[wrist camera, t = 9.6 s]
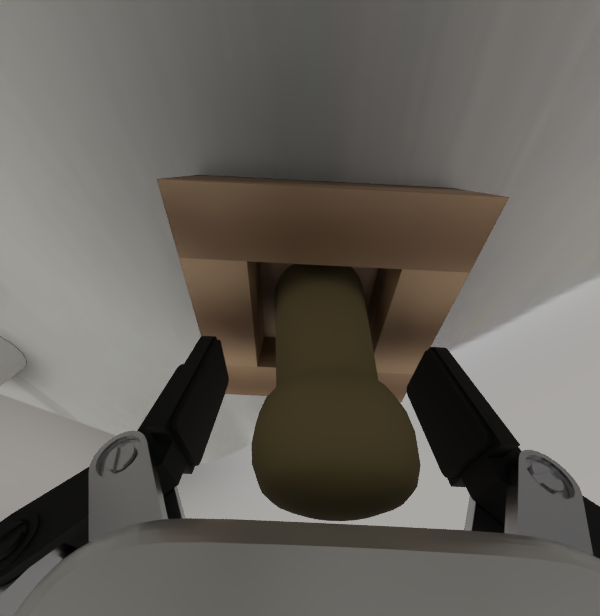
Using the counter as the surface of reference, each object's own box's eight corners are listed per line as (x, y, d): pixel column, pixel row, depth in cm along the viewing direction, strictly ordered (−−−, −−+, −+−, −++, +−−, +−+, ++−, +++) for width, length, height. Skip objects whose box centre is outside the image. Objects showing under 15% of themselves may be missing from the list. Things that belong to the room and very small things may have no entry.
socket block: (199, 174, 12) (157, 179, 8) (452, 188, 12) (509, 197, 9) (232, 354, 20) (217, 393, 16) (385, 362, 20) (401, 402, 16)
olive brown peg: (375, 311, 15) (476, 528, 6) (302, 341, 17) (297, 543, 8) (341, 237, 12) (434, 436, 3) (257, 282, 14) (170, 492, 5)
